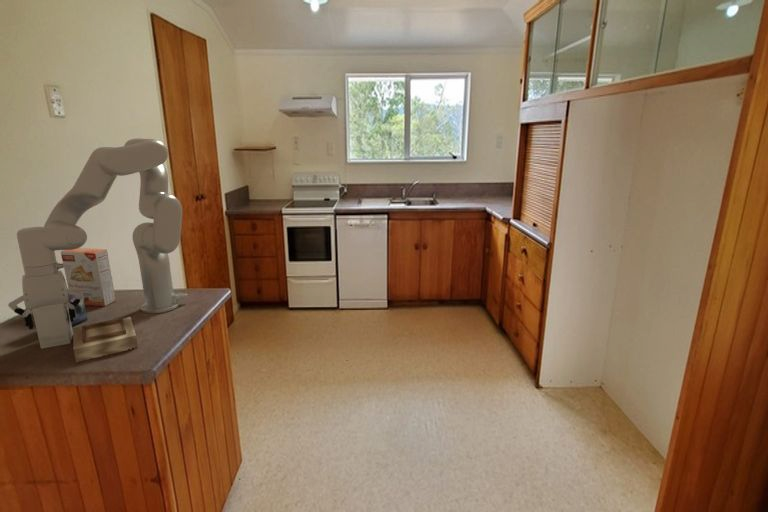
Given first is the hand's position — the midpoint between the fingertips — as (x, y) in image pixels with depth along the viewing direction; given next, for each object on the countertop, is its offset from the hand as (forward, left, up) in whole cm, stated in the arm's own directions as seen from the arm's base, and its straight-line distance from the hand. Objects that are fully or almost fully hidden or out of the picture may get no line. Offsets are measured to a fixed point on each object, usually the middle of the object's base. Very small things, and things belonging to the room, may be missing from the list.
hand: (52, 323), depth 124 cm
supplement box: (0, 0, -6) cm, 6 cm away
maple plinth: (-12, +10, -6) cm, 17 cm away
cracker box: (-10, -30, -6) cm, 33 cm away
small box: (-2, -12, -6) cm, 14 cm away
